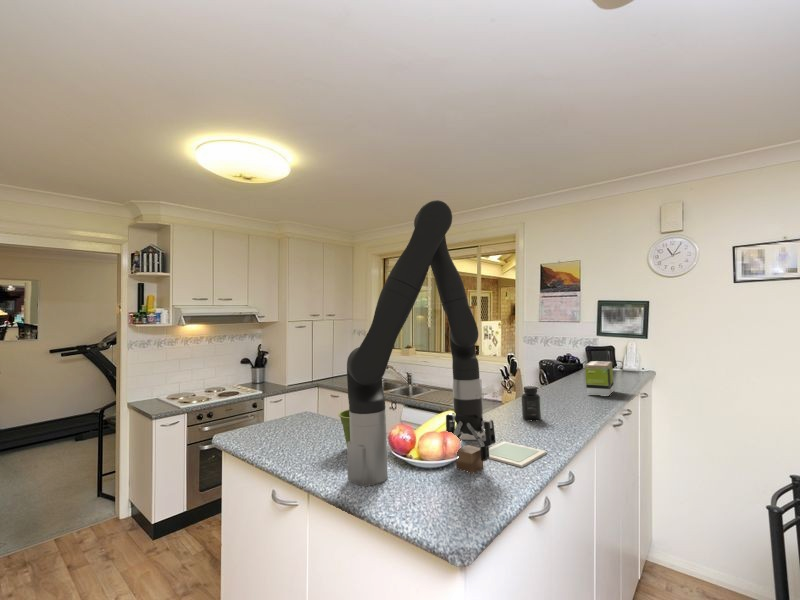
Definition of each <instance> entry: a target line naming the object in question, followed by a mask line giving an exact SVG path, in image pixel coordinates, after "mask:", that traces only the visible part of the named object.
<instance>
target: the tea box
mask: <svg viewBox="0 0 800 600" xmlns="http://www.w3.org/2000/svg"><path fill="white" fill-rule="evenodd" d="M584 371H585V372H584V373H585V388H586V394H587V393H596V394H607V395H610V394H611V392H612V391H613V390H614V391H615V386H614V372H613V371H614V370H613V362H612V361H605V360H604V361H602V360H601V361H599V360H595V361H593V360H591V361H589V362H588V363H586V364H584ZM611 395H612V394H611ZM611 395H610V396H611Z"/></svg>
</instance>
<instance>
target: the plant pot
mask: <svg viewBox="0 0 800 600" xmlns="http://www.w3.org/2000/svg"><path fill="white" fill-rule="evenodd" d="M338 417H339V418H340V422H341V424H342V428H343V433H344V438H345V445H347V442H349V441H350V415H349V409H346V410H343V411H340V412H339V413H338Z"/></svg>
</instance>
